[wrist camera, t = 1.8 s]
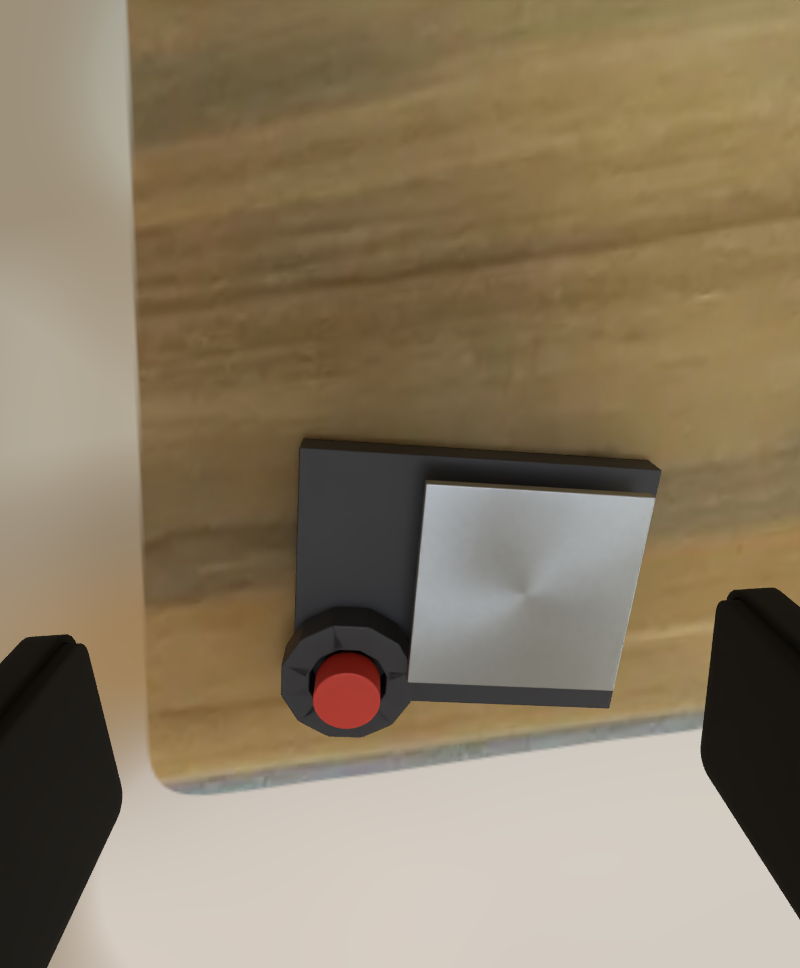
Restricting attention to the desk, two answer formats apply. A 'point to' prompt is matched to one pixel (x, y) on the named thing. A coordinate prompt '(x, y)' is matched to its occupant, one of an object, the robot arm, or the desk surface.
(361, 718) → the tare button
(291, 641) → the scale
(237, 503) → the desk surface
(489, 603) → the pan
